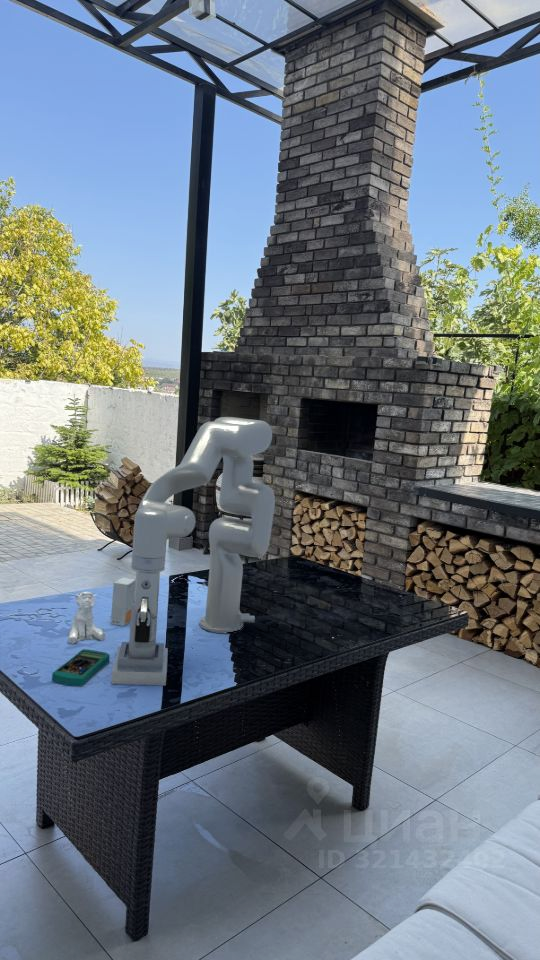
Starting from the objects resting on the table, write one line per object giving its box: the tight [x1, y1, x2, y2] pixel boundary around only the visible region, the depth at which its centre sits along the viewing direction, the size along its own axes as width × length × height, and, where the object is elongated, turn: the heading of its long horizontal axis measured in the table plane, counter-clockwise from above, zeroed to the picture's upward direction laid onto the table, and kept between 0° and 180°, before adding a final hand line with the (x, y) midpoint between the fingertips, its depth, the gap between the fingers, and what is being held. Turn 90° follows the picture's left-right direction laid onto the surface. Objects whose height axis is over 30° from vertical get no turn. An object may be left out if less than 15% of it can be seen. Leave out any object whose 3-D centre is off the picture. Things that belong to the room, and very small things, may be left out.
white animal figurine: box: [67, 590, 106, 645], centre depth 164 cm, size 10×9×12 cm
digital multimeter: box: [51, 648, 110, 687], centre depth 145 cm, size 7×15×3 cm, turn 170°
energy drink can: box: [128, 598, 159, 658], centre depth 146 cm, size 6×6×15 cm
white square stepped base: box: [110, 641, 169, 686], centre depth 147 cm, size 12×14×5 cm
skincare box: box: [110, 577, 136, 627], centre depth 177 cm, size 6×4×12 cm
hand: (143, 633), depth 146 cm, fingers open, 9 cm apart
